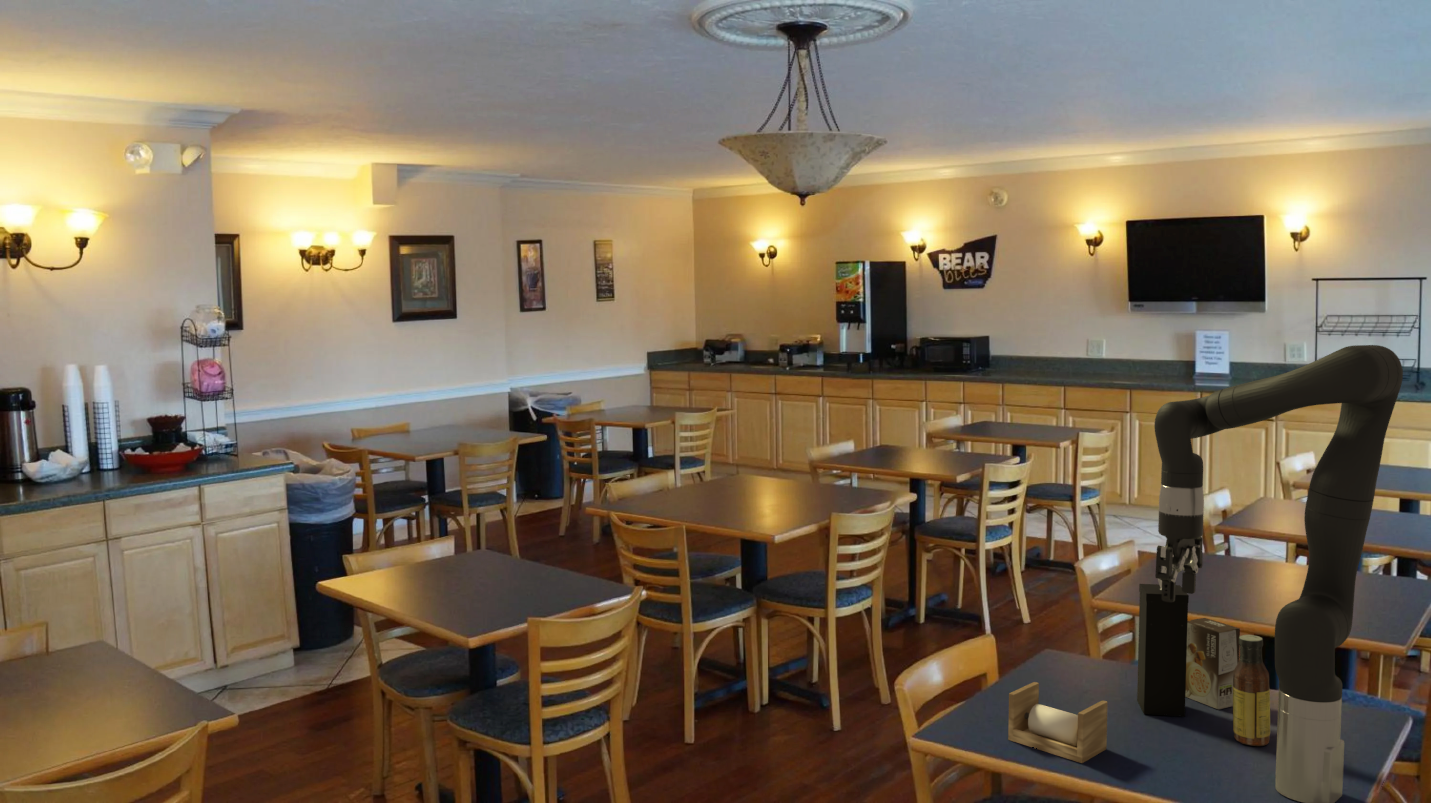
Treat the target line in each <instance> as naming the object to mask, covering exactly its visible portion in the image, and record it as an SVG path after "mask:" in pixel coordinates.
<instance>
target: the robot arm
mask: <svg viewBox="0 0 1431 803" xmlns="http://www.w3.org/2000/svg"><path fill="white" fill-rule="evenodd" d="M1403 372H1404V370H1403V365H1402V362H1401V361H1400V358H1399V357H1398V355H1397V354H1396V353H1395V352H1394V351H1393V350H1391V349H1390V348H1388V347H1386V346H1383V345H1378V344H1367V345H1366V344H1363V345H1358V344H1356V345H1349V346H1345V347H1341V348H1340V349H1338V350H1336V351H1333V352H1332V353H1331V352H1330V354H1326V355H1324V356H1323V357H1320V358H1319V359H1317V360H1314V361H1312V362H1310V363H1307V364H1306V365H1303V366H1301V367H1298V368H1295V369H1293V370H1289V371H1286V372H1283V373H1281V374H1278V375H1273V376H1270V377H1265V378H1261V379H1256V380H1252V381H1249V382H1245V383H1241V384H1237V385H1233V386H1230V387H1227V388H1222V389H1219V390H1215V391H1214V392H1212V393H1211V394H1209V395H1207V396H1202V397H1198V398H1193V399H1188V400H1187V399H1186V400H1179V401H1178V400H1177V401H1169V402H1165V403H1164V404H1162V405H1161V406H1160V408H1159V409H1158V410H1157V411H1156V412H1157V413H1156V415H1155V419H1154V426H1153V427H1154V434H1155V439H1156V445H1157V450H1158V453H1159V457H1160V461H1161V473H1160V474H1161V476H1160V478H1161V479H1160V480H1161V482H1160V490H1159V496H1158V525H1157V526H1158V527H1157V528H1158V529H1157V531H1158V534H1159V535H1161V536H1163V537H1165V539H1166V541H1165V545H1157V547H1156V555H1155V556H1156V557H1155V558H1156V560H1155V573H1154V574H1155V579H1157V580H1158V579H1160V580H1162V600H1163V601H1166V602H1174V601H1175V589H1176V585H1177V584H1176V581H1177V577H1178V574H1179V573H1180V572H1182V573H1181V574H1182V576H1181V578H1182V580H1181V583H1182V584H1181V587H1182V591H1183V592H1184V593H1187V594H1188V595H1189V594H1190V595H1193V594H1195V593H1196V588H1197V587H1196V582H1197V580H1196V579H1197V574H1198V573H1199V569H1203V552H1204V551H1203V546H1204V545H1203V543H1204V541H1203V536H1204V515H1205V514H1204V513H1205V512H1204V511H1205V510H1204V509H1205V508H1204V507H1205V506H1204V505H1205V497H1204V487H1203V486H1204V461H1203V458H1202V456H1201V455H1199V454H1198V453H1195V452H1194V450H1193V443H1192V439H1197V438H1202V437H1206V436H1209V435H1212V434H1215V433H1218V432H1222V431H1224V430H1228V429H1229V430H1230V429H1235V428H1240V427H1244V426H1248V425H1252V424H1253V425H1254V424H1257V423H1260V422H1264V421H1266V420H1269V419H1272V418H1275V417H1277V416H1280V415H1284V414H1285V413H1288V412H1291V411H1294V410H1298V409H1302V408H1307V407H1313V406H1321V405H1333V404H1334V405H1335V404H1341V406H1340V412H1339V418H1338V423H1337V425H1336V428H1335V431H1334V433H1333V436H1332V438H1331V440H1330V441H1329V443H1328V444H1327V446H1326V448H1325V450H1324V451H1323V454H1322V455H1321V457H1320V459H1319V460H1318V462H1317V464H1316V466H1315V468H1314V471H1313V473H1312V476H1311V478H1310V482H1309V486H1308V491H1307V497H1306V503H1305V506H1304V507H1305V508H1304V516H1303V517H1304V530H1305V536H1306V542H1307V548H1308V557H1309V558H1308V566H1307V570H1306V571H1307V572H1306V576H1305V580H1304V584H1303V587H1302V591H1301V593H1300V596H1299V598H1298V599H1295V600H1293V601H1291V602H1289V603H1287V604H1285V605H1284V606H1283V607H1282V608H1281V609H1280V610H1279V612H1278V614H1277V616H1276V620H1275V626H1274V669H1275V673H1276V676H1277V678H1278V699H1277V700H1278V701H1277V702H1278V704H1277V724H1276V725H1277V728H1276V729H1277V730H1276V734H1277V735H1276V757H1275V774H1274V778H1275V786H1274V787H1275V790H1276V791H1277V792H1278V793H1279V794H1281V795H1282V796H1284V797H1286V798H1288V799H1290V800H1294V801H1297V802H1301V803H1336V802H1337V801H1338V800H1339V799H1340V798H1341V797H1343V785H1344V784H1343V782H1344V763H1345V762H1344V760H1345V741H1344V739H1342V738H1341V733H1342V732H1341V729H1342V728H1341V726H1342V703H1343V682H1342V680H1341V678H1340V677H1338V676H1337V675H1336V671H1335V667H1336V665H1335V664H1336V663H1335V662H1336V658H1335V656H1336V654H1335V652H1336V649H1337V648H1338V647H1340V646H1341V645H1343V644H1344V643H1345V641H1347V639H1348V638H1349V636H1350V635H1351V631H1352V628H1353V627H1352V626H1353V619H1354V618H1353V617H1354V616H1353V615H1354V604H1355V590H1356V580H1357V573H1358V568H1359V565H1360V561H1361V557H1362V553H1363V550H1364V546H1365V545H1364V544H1365V540H1366V535H1367V530H1368V526H1369V523H1370V520H1371V515H1372V509H1373V505H1374V499H1375V493H1376V489H1377V488H1376V487H1377V481H1378V477H1379V472H1380V467H1381V461H1382V454H1383V450H1384V449H1383V448H1384V444H1385V439H1386V436H1387V435H1386V434H1387V430H1388V427H1389V424H1390V422H1391V421H1390V420H1391V417H1392V414H1393V411H1394V409H1395V405H1396V403H1397V400H1398V397H1399V395H1400V394H1399V393H1400V391H1401V387H1402V384H1403V378H1404V377H1403V376H1404V373H1403Z"/></svg>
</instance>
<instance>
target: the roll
mask: <svg viewBox="0 0 1431 803" xmlns="http://www.w3.org/2000/svg"><path fill="white" fill-rule="evenodd" d="M1028 727H1029V730H1030V732H1031V733H1034V734H1037V735H1041V736H1044V737H1047V738H1051V739H1054V740H1057V741H1060V742H1064V743H1067V744H1070V745H1073V746H1077V736H1078V714H1075V713H1072V712H1068V711H1065V710H1061V709H1059V708H1054V707H1051V706H1046V705H1045V704H1036V705H1034V706H1033V708H1032V709H1031V711H1030V714H1029V718H1028Z"/></svg>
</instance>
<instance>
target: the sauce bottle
mask: <svg viewBox="0 0 1431 803" xmlns="http://www.w3.org/2000/svg"><path fill="white" fill-rule="evenodd" d="M1239 645H1240V648H1239V662H1238V664H1237V666H1236V667H1235V669H1234V674H1233V706H1232V725H1233V730H1232V731H1233V733H1234V734H1233V737H1234V739H1235V740H1236V741H1237V742H1239V743H1240V744H1242V745H1247V746H1252V747H1263V746H1266V745H1268V744H1270V735H1271V688H1270V673H1269V671H1268V669H1267V667H1266V665H1265V663H1264V662H1263V646H1264V639H1263V637H1261V636H1258V635H1253V634H1243V635H1240V637H1239Z"/></svg>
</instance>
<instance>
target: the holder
mask: <svg viewBox="0 0 1431 803" xmlns="http://www.w3.org/2000/svg"><path fill="white" fill-rule="evenodd" d="M1039 686H1040V684H1039V682H1037V681H1033V682H1030V683H1028V684H1026V685H1025V686H1022V687H1020V688H1018V689H1016V690H1013V691H1012V692H1009V693H1008V738H1007V740H1008V741H1011V742H1014V743H1018V744H1021V745H1024V746H1027V747H1030V748H1032V747H1034V748H1033V749H1036V748H1037V749H1036V750H1039V751H1043V752H1045V753H1048V754H1051V755H1055V756H1058V757H1061V758H1064V759H1067V760H1070V761H1074V762H1077V763H1080V764H1084V763H1086V762H1088V761H1089V760H1090V759H1092V758H1094V757H1096V756H1097V755H1098V754H1101V753H1102V752H1104V751H1106V750H1107V742H1108V741H1107V738H1108V703H1109V702H1108V701H1106V700H1101V701H1100V700H1099V701H1098V702H1097V703H1094V704H1093V705H1090V706H1089V707H1087V708H1085V709H1083V710H1080V711H1079V712H1078V713H1077V715H1078V736H1077V746H1073V745H1070V744H1067V743H1064V742H1060V741H1057V740H1054V739H1051V738H1047V737H1044V736H1041V735H1037V734H1034V733H1031V732H1030V730H1029V727H1028V718H1029V714H1030V711H1031V709H1032V708H1033V706H1034V705H1036V704H1039V698H1040V697H1039V695H1040V691H1039V690H1040V687H1039Z"/></svg>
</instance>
